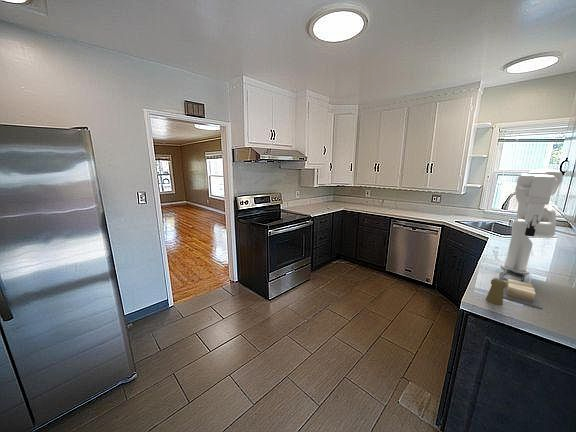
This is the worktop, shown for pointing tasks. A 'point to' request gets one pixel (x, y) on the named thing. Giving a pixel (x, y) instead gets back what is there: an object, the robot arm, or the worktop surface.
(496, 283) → the cork
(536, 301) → the rubber mat
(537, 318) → the worktop surface
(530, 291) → the maple plaque
